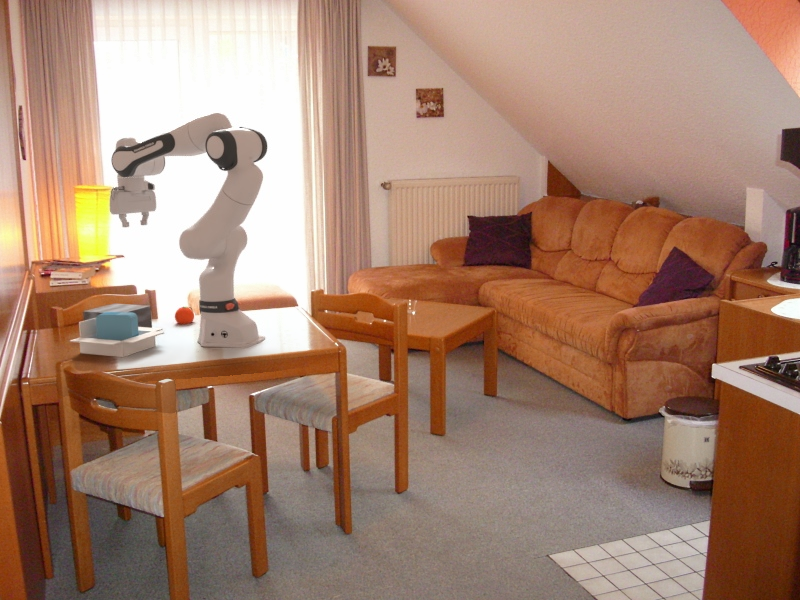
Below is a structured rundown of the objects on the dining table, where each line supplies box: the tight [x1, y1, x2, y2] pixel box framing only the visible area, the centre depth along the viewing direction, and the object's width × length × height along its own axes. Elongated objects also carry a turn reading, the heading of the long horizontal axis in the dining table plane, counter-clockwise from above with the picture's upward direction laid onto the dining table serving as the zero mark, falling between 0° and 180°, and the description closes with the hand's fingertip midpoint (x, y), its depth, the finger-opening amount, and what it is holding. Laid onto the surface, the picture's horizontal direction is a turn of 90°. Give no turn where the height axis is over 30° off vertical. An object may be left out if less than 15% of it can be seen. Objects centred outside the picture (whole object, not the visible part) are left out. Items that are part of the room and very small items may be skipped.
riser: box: [82, 303, 153, 328], centre depth 280 cm, size 16×16×9 cm
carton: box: [69, 318, 165, 358], centre depth 254 cm, size 21×24×10 cm
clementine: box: [174, 306, 195, 325], centre depth 293 cm, size 8×7×7 cm
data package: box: [96, 312, 139, 341], centre depth 255 cm, size 12×4×12 cm, turn 82°
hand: (135, 226), depth 275 cm, fingers open, 8 cm apart
